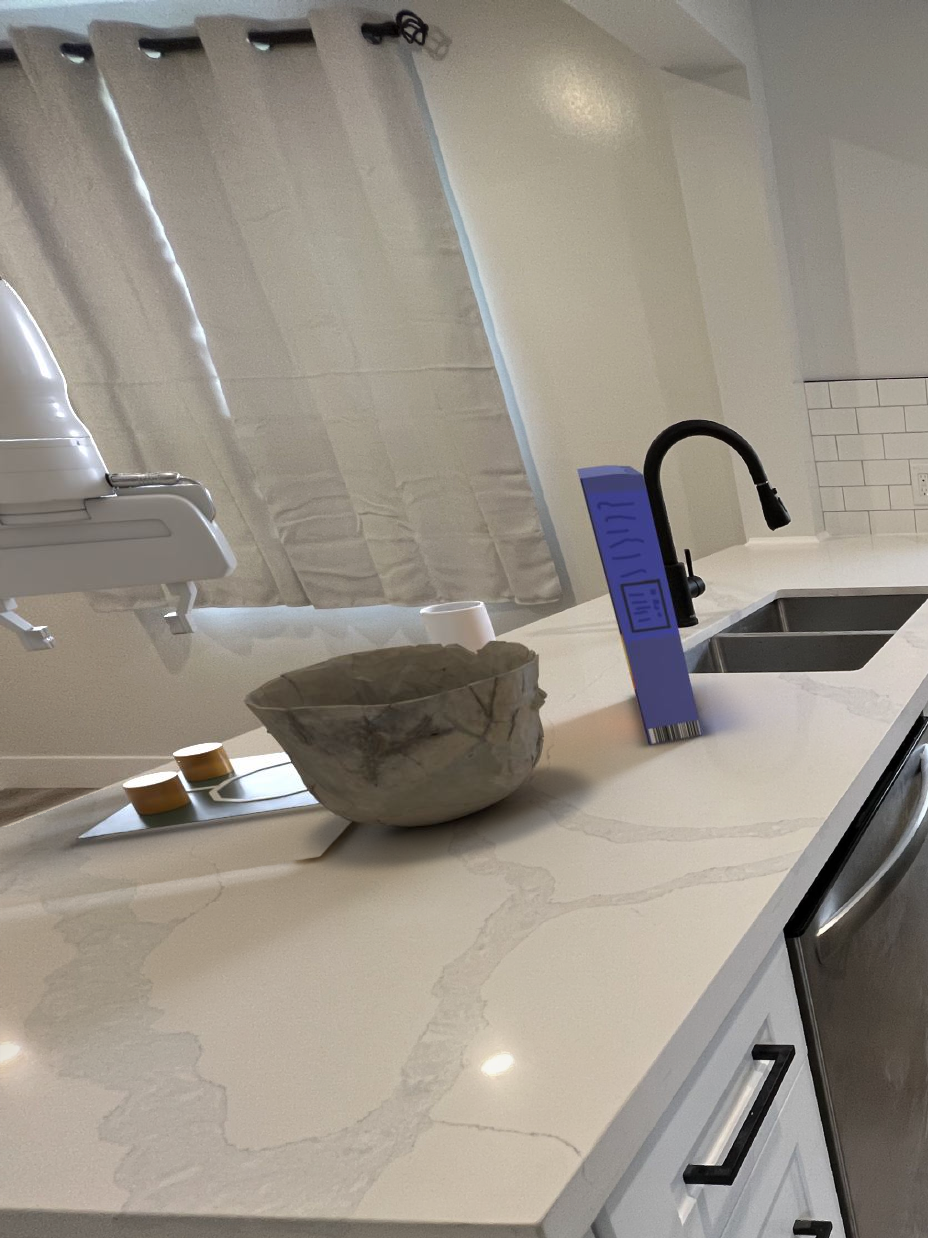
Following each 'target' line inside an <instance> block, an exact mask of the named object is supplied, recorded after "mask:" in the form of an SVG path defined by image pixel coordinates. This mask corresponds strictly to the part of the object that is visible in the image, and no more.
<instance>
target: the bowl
mask: <svg viewBox="0 0 928 1238" xmlns="http://www.w3.org/2000/svg"><path fill="white" fill-rule="evenodd" d="M539 663H540V654H539V653H537V654H536V652H535V650H533V649H529V648H528V647H527V646H526V645H524V644H523V643H520V642H515V641H507V640H496V641H489V642H488V643H487V644H486V645H485V646H484V647H483V648H482V649H479V650H477V654H475V653H474V652H471V651H469V650H467V649H466V648H464V647H462V646H461V645H459V644H457V643H455V644H448V645H446V646H445V647H443V646H442V645H441V644H431V643H424V644H421V643H420V644H417V645H410V644H409V645H402V646H401V645H399V646H392V647H384V648H383V647H382V648H377V649H371V650H366V651H358V652H353V653H347V654H343V655H337V656H334V657H329V658H328V659H326V660H323V661H320V662H318V663H314V664H311V665H308V666H305V667H301V668H297V669H294V670H290V671H287V672H284V673H281V674H279V676H277V677H275V678H274V679H271V680H268V681H266V682H264V683H263V684H261V685H260V686H259V687H257V688H256V689H254V690H252V691H251V692H249V693H248V694H246V695H245V699H244V700H243V702H244V704H245V706H246V707H247V708H248V709H249V710H250V711H251V712H252V713H253V715H254V716H255V717H256V718H257V719H258V720H259V722H260V723H261V724H262V725H263V727H264V728H265V729H266V733H267V734H270V735H271V737H272V738H273V739H274V740H275V741H276V742H277V743H278V745H279V746H280V747H281V748H282V750H283V751H284V752H285V753H286V754H287V755H288V757H289V758H290V761H291V763H292V764H293V766H294V767H295V769H296V771H297V772H298V774H299V775H300V777H301V779H302V782H303V784H304V785H305V787H306V788H307V790H308V791H309V793H310V794H312V796H313V797H314V798H315V799H316V800H317V801H318V802H319V803H320V804H319V805H321V806H322V807H324V809H326V810H328V811H329V812H331V813H332V814H334V815H335V816H337V817H340V818H341V819H344V820H347V821H350V822H355V823H359V824H368V825H380V826H387V825H388V826H389V825H390V826H396V827H411V828H413V827H425V826H433V825H438V824H443V823H447V822H448V823H449V822H451V821H452V822H453V821H455V820H457V819H460V818H464V817H466V816H469V815H472V814H474V813H476V812H479V811H481V810H485V809H486V808H488V807H490V806H491V805H493V804H497V802H500V801H501V800H503V799H505V798H507V797H508V796H509V795H511V794H512V793H513V792H515V791H516V790H517V789H518V788H520V787H521V785H523V783H524V782H525V781H526V780H527V779H528V777H529V776H531V774H532V772H533V770H534V769H535V768H536V766H537V765H538V763H539V762H540V759H541V757H542V754H543V748H544V738H545V731H544V728H543V723H542V720H541V716H540V709H542V707H543V706H544V705H545V704H546V700H545V699H546V698H547V697H548V693H547V692H546V691H545V690H543V689H542V688H540V687H539V677H540V666H539V665H540V664H539Z"/></svg>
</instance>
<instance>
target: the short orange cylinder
mask: <svg viewBox="0 0 928 1238" xmlns="http://www.w3.org/2000/svg"><path fill="white" fill-rule="evenodd" d="M172 757H173V758H174V760H175V762H176V764H177V767H178V768H179V771H181V772H182V774H183V776H184V778H185V780H186V781H203V780H209V779H213V778H217V777H220V776H223V775H226V774H228V773H230V772H232V771H233V770H234V768H233V766H232V764H231V762H230V760H229V759H230V758H229V756H228V753H227V751H226V750H225V747H224V745H223V744H222V743H220V742H207V743H201V744H196V745H191V746H188V747H184V748H181V749H179V750H177V751H175V752H173V754H172ZM178 761H180V762H178Z"/></svg>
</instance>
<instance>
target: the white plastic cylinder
mask: <svg viewBox="0 0 928 1238" xmlns="http://www.w3.org/2000/svg"><path fill="white" fill-rule="evenodd" d="M420 614H421V618H422V621H423V625H424V628H425V631H426V634H427V637H428V639H429V643H430V644H441V645H442V646H443V647H445V646H446V645H448V644H455V643H457V644H459V645H461V646H462V647H464V648H466V649H467V650H469V651H471V652H474V653H475V654H477V650H479V649H482V648H483V647H484V646H485V645H486V644H487V643H488V642H489V641H497V638H496V635H495V631H494V627H493V624H492V621H491V618H490V616H489V615H490V614H489V613H488V610H487V607H486V604H485V603H484V602H483V601H478V600H466V601H454V602H447V603H440V604H435V605H431V606H428V607H427V606H426V607H424V608H422V609H421V610H420Z"/></svg>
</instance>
